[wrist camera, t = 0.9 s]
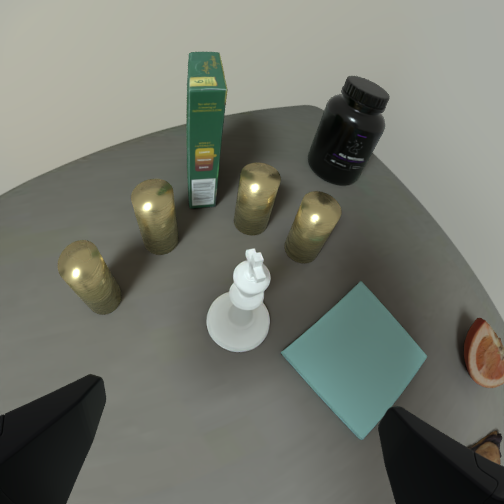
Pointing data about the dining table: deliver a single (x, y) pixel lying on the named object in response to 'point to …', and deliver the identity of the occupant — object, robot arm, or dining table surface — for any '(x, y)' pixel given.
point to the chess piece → (242, 307)
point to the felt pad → (357, 359)
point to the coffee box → (204, 126)
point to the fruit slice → (484, 355)
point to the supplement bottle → (348, 131)
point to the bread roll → (489, 447)
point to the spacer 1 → (89, 277)
